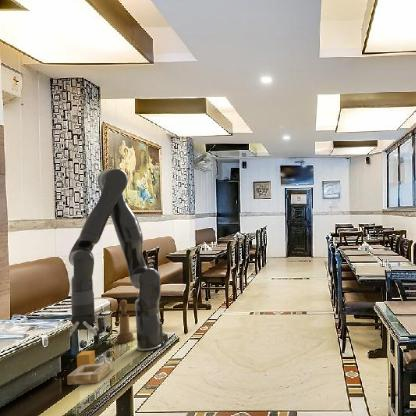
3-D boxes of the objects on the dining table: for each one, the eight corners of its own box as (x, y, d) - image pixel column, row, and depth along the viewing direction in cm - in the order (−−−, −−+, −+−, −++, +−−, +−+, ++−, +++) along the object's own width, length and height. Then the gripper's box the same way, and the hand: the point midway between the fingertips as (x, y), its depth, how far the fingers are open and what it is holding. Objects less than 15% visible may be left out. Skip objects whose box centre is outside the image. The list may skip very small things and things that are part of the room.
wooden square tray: (110, 370, 154) (110, 362, 154) (98, 382, 144) (97, 374, 144) (82, 372, 153) (81, 364, 153) (67, 384, 143) (67, 376, 143)
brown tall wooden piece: (122, 343, 184) (120, 302, 183) (113, 341, 187) (111, 300, 187) (136, 339, 189) (134, 298, 189) (127, 337, 193) (125, 297, 192)
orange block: (83, 364, 162) (82, 351, 162) (95, 363, 162) (94, 350, 162) (77, 368, 157) (76, 355, 157) (89, 368, 158) (89, 354, 157)
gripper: (106, 299, 163) (108, 341, 163) (68, 300, 162) (69, 343, 162) (97, 303, 156) (99, 347, 156) (57, 305, 155) (59, 350, 155)
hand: (84, 345), depth 159 cm, fingers open, 8 cm apart
